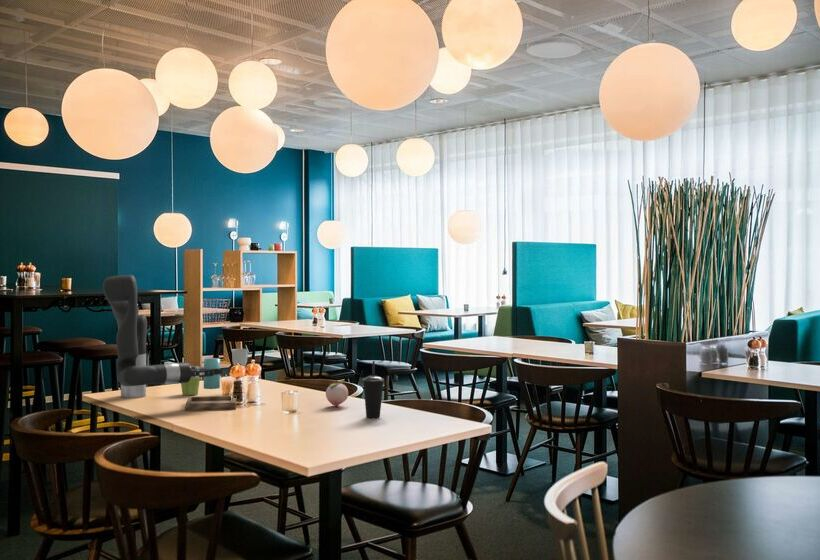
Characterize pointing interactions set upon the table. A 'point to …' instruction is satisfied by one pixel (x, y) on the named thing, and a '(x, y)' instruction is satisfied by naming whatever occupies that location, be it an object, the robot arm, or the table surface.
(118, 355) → the robot arm
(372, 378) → the drinking cup
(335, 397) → the decorative fruit
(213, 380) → the teal tumbler
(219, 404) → the walnut tray
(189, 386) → the plant pot
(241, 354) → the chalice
